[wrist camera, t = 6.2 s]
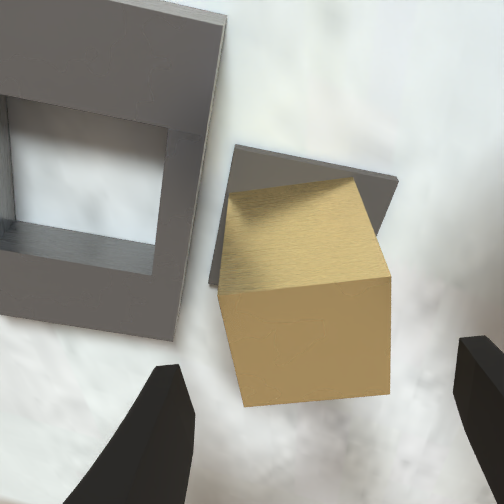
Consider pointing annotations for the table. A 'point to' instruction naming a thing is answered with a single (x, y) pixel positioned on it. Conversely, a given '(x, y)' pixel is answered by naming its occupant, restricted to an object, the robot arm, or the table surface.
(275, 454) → the table surface
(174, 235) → the gray rectangular frame
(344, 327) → the block
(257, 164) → the flat gray plate
